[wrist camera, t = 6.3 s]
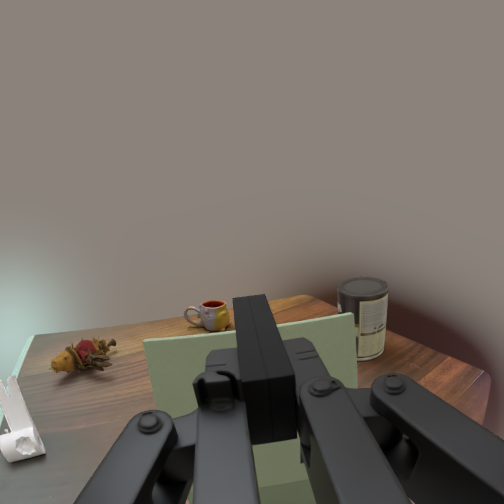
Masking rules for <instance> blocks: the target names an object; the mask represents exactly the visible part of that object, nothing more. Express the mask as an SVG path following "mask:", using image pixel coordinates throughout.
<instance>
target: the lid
mask: <svg viewBox="0 0 504 504" xmlns="http://www.w3.org/2000/svg"><path fill="white" fill-rule="evenodd" d="M277 328H278V330H279V333H280V336H281V338H282V340H288V339H294V338H300V337H304V338H306V339H307V340H309V341H311V342H312V343H313V345H314V347H315V349H316V351H317V352H318V354H319V357H320V358H321V359H322V361H323V363H324V365H325V367H326V368H327V370H328V372H329V374H330V376H331V377H334V378H336V379H338V380H340V381H341V382H342V383H343V384H344V386H345V387H347V388H355V389H358V375H357V353H356V336H355V322H354V314H353V313H351V312H349V313H344V314H338V315H333V316H327V317H322V318H316V319H310V320H304V321H298V322H291V323H285V324H278V325H277ZM143 345H144V351H145V356H146V361H147V366H148V371H149V375H150V380H151V384H152V389H153V393H154V397H155V401H156V406H157V410H160V411H164V412H166V413H168V414H169V415H170V416H171V417H172V419H173V418H176V417H180V416H184V415H186V414H189V413H191V412H193V411H194V410H196V409H197V408H198V404H197V400H196V396H195V393H194V389H193V385H192V383H193V381H194V379H195V378H196V377H197V376H198V375H199V374H201V373H203V372H205V364H206V357H207V356H208V354H209V353H210V352H211V351H212V350H218V349H228V348H236V347H237V340H236V330H234V331H226V332H217V333H208V334H199V335H189V336H178V337H166V338H154V339H145V340H144V341H143ZM252 449H253V454H254V461H255V468H256V475H257V481H258V487H265V486H272V485H279V484H285V483H290V482H296V481H301V480H306V479H309V478H308V474H307V471H306V468H305V464H304V463H302V464H300V438H299V434H298V431H297V439H292V440H286V441H280V442H274V443H267V444H260V445H252ZM190 492H193V484H192V487H191V489H190Z"/></svg>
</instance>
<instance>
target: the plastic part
mask: <svg viewBox="0 0 504 504" xmlns="http://www.w3.org/2000/svg"><path fill="white" fill-rule="evenodd" d="M7 382H8V386H9V390H10V396H9V395H8V393H7V391H6V389H5V387H4V384H3V382H2V381H1V380H0V403H1V404H0V405H1V408H2V410H3V413H4V415H5V418H6V420H7V423H8V425H9V427H10V430H11V432H10V433H8V429H5V432H7V434H4V435H1V436H0V449H1V452H2V454H3V455H4V457H5V458H6V460H7V461H8V462H14V461H18V460H22V459H26V458H30V457H34V456H38V455H41V454H45V447H44V444H43V442H42V440H41V438H40V436H39V434H38V432H37V430H36V427H35V425H34V423H33V421H32V418H31V416H30V414H29V411H28V409H27V407H26V404H25V402H24V399H23V397H22V394H21V391H20V389H19V386H18V383H17V380H16V377H15V376H14V375H13V376H10V377H8V378H7Z"/></svg>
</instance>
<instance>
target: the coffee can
mask: <svg viewBox="0 0 504 504" xmlns="http://www.w3.org/2000/svg"><path fill="white" fill-rule="evenodd" d="M388 290H389V285H388V284H387V283H386V282H385V281H383V280H380V279H376V278H368V277H360V278H352V279H348V280H345V281H342V282H340V283H339V284H338V286H337V291H338V314H344V313H349V312H351V313H353V314H354V322H355V336H356V353H357V361H365V360H370V359H374V358H376V357H378V356H379V355H381V354H382V353H383V351H384V341H385V330H386V317H387V301H388Z"/></svg>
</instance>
